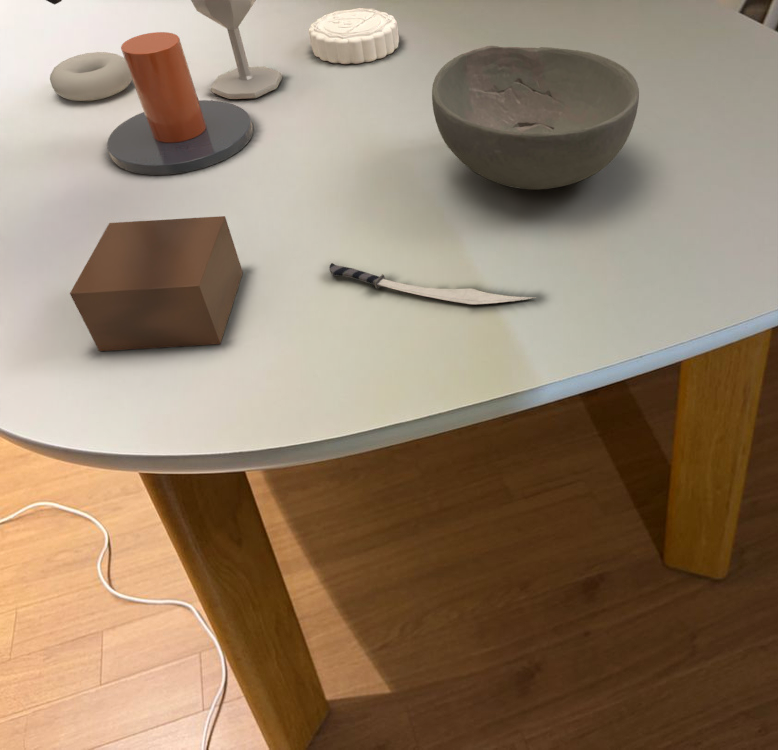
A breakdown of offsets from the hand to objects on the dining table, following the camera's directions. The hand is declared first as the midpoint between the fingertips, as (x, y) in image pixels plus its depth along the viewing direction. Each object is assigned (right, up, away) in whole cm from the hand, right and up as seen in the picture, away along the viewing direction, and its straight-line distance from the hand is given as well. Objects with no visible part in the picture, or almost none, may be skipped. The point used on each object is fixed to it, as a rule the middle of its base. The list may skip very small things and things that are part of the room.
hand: (13, 19), depth 73 cm
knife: (+38, -25, -3) cm, 46 cm away
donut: (-8, +5, +31) cm, 32 cm away
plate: (+8, -5, +19) cm, 22 cm away
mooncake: (+25, +13, +38) cm, 47 cm away
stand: (+16, -27, -4) cm, 32 cm away
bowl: (+48, -11, +11) cm, 51 cm away
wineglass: (+12, +4, +30) cm, 32 cm away
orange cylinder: (+8, -4, +19) cm, 21 cm away
